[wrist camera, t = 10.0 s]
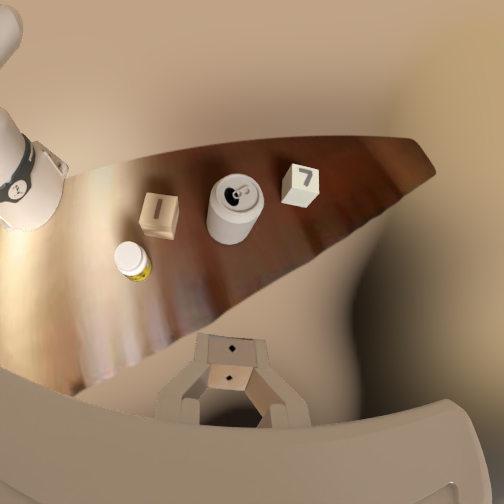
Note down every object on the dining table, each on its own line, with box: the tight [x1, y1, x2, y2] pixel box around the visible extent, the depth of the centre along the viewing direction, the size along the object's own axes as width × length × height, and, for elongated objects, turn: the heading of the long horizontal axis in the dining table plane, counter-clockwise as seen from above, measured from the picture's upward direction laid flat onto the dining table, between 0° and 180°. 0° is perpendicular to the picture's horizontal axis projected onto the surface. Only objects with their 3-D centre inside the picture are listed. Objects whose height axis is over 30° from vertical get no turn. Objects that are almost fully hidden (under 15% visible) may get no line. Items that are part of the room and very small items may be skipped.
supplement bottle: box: [114, 241, 152, 282], centre depth 37 cm, size 5×5×8 cm
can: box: [206, 174, 264, 245], centre depth 41 cm, size 8×8×12 cm
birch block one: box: [139, 193, 179, 240], centre depth 41 cm, size 5×5×6 cm
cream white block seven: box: [281, 164, 319, 207], centre depth 48 cm, size 5×5×6 cm
